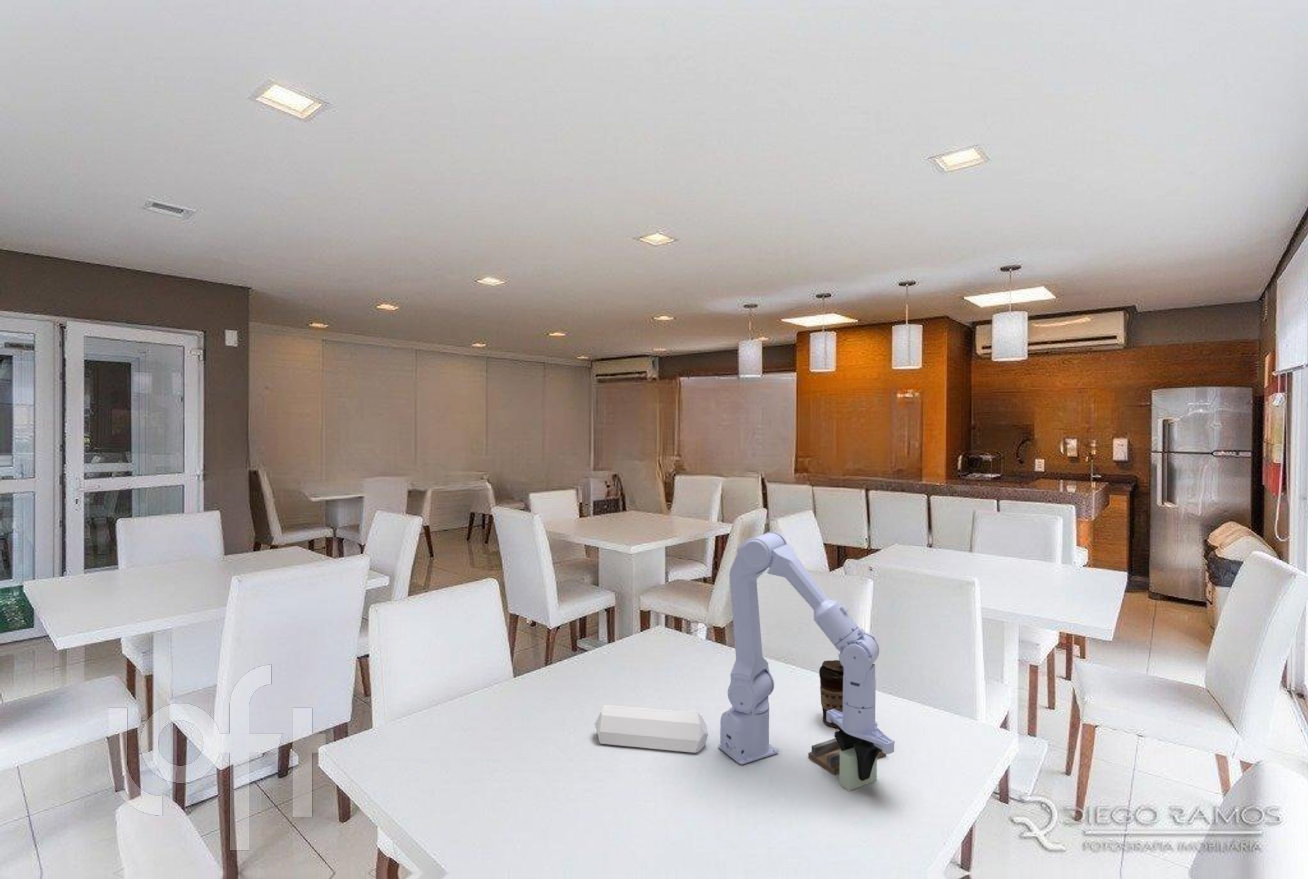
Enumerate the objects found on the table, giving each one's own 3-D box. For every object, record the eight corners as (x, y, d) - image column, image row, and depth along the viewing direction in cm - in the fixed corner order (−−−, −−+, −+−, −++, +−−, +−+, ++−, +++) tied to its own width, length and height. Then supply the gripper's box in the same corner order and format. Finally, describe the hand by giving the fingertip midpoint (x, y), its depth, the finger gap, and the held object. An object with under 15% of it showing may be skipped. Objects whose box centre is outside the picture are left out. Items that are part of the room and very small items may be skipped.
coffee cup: (849, 736, 136) (849, 675, 136) (811, 724, 141) (812, 666, 141) (863, 720, 143) (864, 662, 143) (827, 710, 148) (828, 654, 148)
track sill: (834, 774, 121) (834, 753, 121) (808, 757, 128) (808, 737, 127) (886, 755, 128) (886, 736, 128) (859, 740, 134) (859, 721, 134)
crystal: (587, 731, 131) (705, 742, 126) (595, 700, 137) (708, 710, 132) (592, 753, 135) (707, 764, 130) (600, 722, 141) (710, 732, 136)
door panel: (849, 790, 116) (849, 758, 116) (839, 784, 118) (839, 752, 118) (876, 780, 120) (876, 748, 119) (866, 774, 122) (866, 742, 122)
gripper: (906, 712, 114) (905, 788, 115) (845, 683, 127) (844, 751, 127) (878, 721, 111) (877, 799, 111) (818, 690, 123) (817, 760, 124)
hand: (858, 774), depth 119 cm, fingers closed on door panel, 2 cm apart
